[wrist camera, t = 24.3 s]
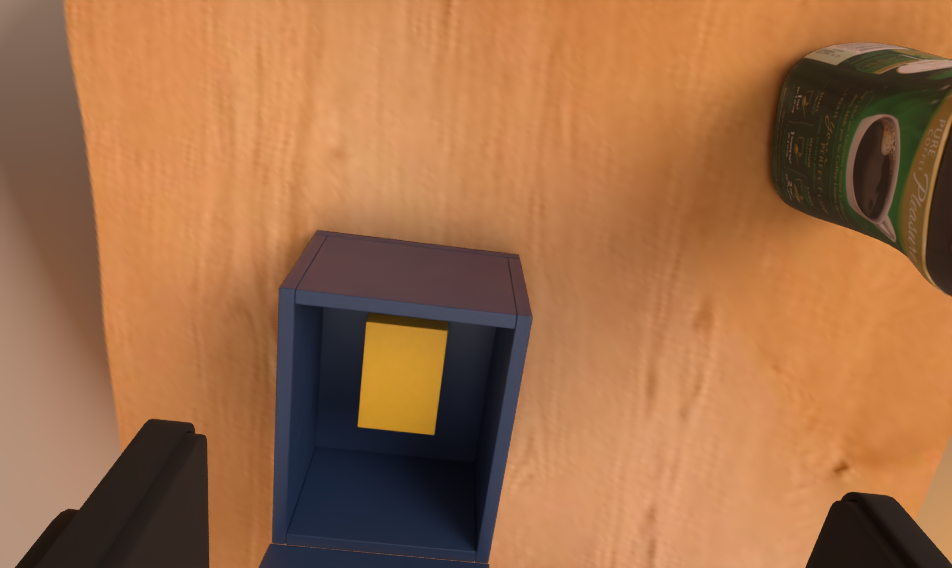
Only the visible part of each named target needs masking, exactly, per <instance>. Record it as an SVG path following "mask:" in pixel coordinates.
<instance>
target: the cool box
mask: <svg viewBox="0 0 952 568" xmlns="http://www.w3.org/2000/svg"><path fill="white" fill-rule="evenodd" d="M369 312H371V313H380V314H388V315H397V316H406V317H414V318H423V319H432V320H440V321H449V323H448V336H447V343H446V351H445V358H444V366H443V373H442V381H441V389H440V396H439V404H438V411H437V419H436V426H435V434H434V435H429V434H419V433H410V432H400V431H391V430H381V429H371V428H362V427H358V414H359V402H360V389H361V377H362V365H363V352H364V340H365V328H366V321H367V317H368V314H369ZM532 319H533V317H532V312H531V308H530V303H529V298H528V294H527V289H526V284H525V280H524V275H523V271H522V266H521V261H520V257H519V255H516V254H508V253H500V252H492V251H484V250H475V249H467V248H459V247H451V246H443V245H434V244H426V243H418V242H410V241H402V240H393V239H385V238H377V237H369V236H361V235H353V234H344V233H336V232H328V231H320V230H317V231H316V233H315V235H314V236H313V238H312V239H311V241H310V242H309V244H308V245H307V247H306V248H305V250H304V251H303V253H302V254H301V256H300V257H299V259H298V260H297V262H296V263H295V265H294V266H293V268H292V269H291V271H290V272H289V274H288V275H287V277H286V278H285V280H284V281H283V283H282V284H281V286H280V288H279V304H278V340H277V377H276V413H275V449H274V485H273V521H272V543H274V544H285V543H286V545H294V546H305V547H316V548H327V549H337V550H348V551H359V552H370V553H380V554H391V555H402V556H413V557H424V558H434V559H445V560H456V561H467V562H474V561H475V562H477V563H488V561H489V555H490V550H491V544H492V539H493V533H494V528H495V522H496V517H497V511H498V506H499V500H500V495H501V489H502V484H503V478H504V473H505V467H506V462H507V456H508V451H509V445H510V440H511V434H512V429H513V423H514V418H515V413H516V407H517V402H518V396H519V391H520V385H521V380H522V374H523V369H524V363H525V358H526V352H527V347H528V341H529V336H530V330H531V325H532Z"/></svg>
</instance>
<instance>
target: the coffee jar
mask: <svg viewBox="0 0 952 568" xmlns="http://www.w3.org/2000/svg"><path fill="white" fill-rule="evenodd" d="M772 177H773V183H774V187H775V189H776V191H777V193H778V195H779V196H780V198H781V199H782V200H783V201H784V202H785V203H786V204H788V205H789V206H791V207H793V208H795V209H797V210H799V211H801V212H803V213H806V214H808V215H810V216H813V217H816V218H819V219H822V220H825V221H828V222H831V223H834V224H837V225H840V226H843V227H846V228H849V229H852V230H855V231H858V232H860V233H863V234H865V235H868V236H870V237H873V238H875V239H878V240H880V241H882V242H884V243H886V244H889V245H890V246H892V247H894V248H896V249H897V250H899V251H900V252H902V253H903V254H904V255H906V256H907V257H908V258H909V259H910V261H911V262H912V263H913V264H914V266H915V267H916V268H917V269H918V271H919V272H920V273H921V274H922V275H923V277H924V278H925V279H926V280H927V281H928V282H929V283H931V284H932V285H933V286H934V287H936V288H937V289H938V290H940V291H941V292H943V293H944V294H946V295H949V296H951V297H952V60H951V59H947V58H943V57H940V56H936V55H933V54H929V53H925V52H922V51H918V50H914V49H910V48H906V47H901V46H895V45H889V44H879V43H846V44H839V45H833V46H829V47H824V48H821V49H818V50H815V51H813V52H811V53H809V54H807V55H806V56H804V57H803V58H802V59H800V60H799V61H798V62H797V63H796V64H795V65H794V67H793V68H792V69H791V70H790V72H789V73H788V75H787V77H786V79H785V81H784V83H783V86H782V89H781V94H780V98H779V102H778V107H777V111H776V117H775V123H774V133H773V142H772Z"/></svg>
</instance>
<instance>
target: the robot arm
mask: <svg viewBox="0 0 952 568" xmlns="http://www.w3.org/2000/svg"><path fill="white" fill-rule="evenodd" d="M15 568H209V525H208V465H207V439H206V436H205V435H202V434H195V428H194V425H193V424H192V423H188V422H178V421H168V420H159V419H150V420H148V421H147V422H146V423H145V424H144V425H143V427H142V428H141V429H140V431H139V432H138V433H137V435H136V436H135V437H134V439H133V440H132V441H131V442H130V444H129V445H128V446H127V448H126V449H125V450H124V452H123V453H122V454H121V456H120V457H119V458H118V460H117V461H116V462H115V463H114V465H113V466H112V468H111V469H110V470H109V472H108V473H107V474H106V475H105V477H104V478H103V479H102V481H101V482H100V483H99V484H98V486H97V487H96V488H95V490H94V491H93V492H92V494H91V495H90V497H89V498H88V499H87V501H86V502H85V503H84V505H83V506H82V507H81V508H80V510H75V509H67V510H65V511H63V512H61V513H60V514H59V515H58V516H57V517H56V518H55V519H54V520H53V521H52V522H51V523H50V524H49V526H48V527H47V528H46V530H45V531H44V532H43V533H42V534H41V536H40V537H39V539H37V541H36V542H35V543H34V544H33V546H32V547H31V548H30V550H29V551H28V552H27V553H26V555H25V556H24V557H23V558H22V560H21V561H20V562H19V563H18V565H17V566H16V567H15ZM805 568H952V564H951V563H950V562H949V560H948V559H947V558H946V557H945V556H944V555H943V554H942V552H941V551H940V550H939V549H938V548H937V547H936V545H935V544H934V543H933V542H932V541H931V540H930V539H929V537H928V536H927V535H926V534H925V533H924V532H923V530H922V529H921V528H920V527H919V526H918V525H917V524H916V522H915V521H914V520H913V519H912V518H911V517H910V515H909V514H908V513H907V512H906V511H905V510H904V508H903V507H902V506H901V505H900V504H899V503H898V502H897V501H896V500H895V499H894V498H893V497H890V496H887V495H878V494H868V493H858V492H850V493H847V494H846V495H844V496H843V498H842V499H841V500H840V501H836V502H834V503H833V504H832V506H831V508H830V510H829V512H828V515H827V517H826V520H825V522H824V524H823V527H822V529H821V532H820V534H819V536H818V539H817V541H816V544H815V546H814V548H813V551H812V553H811V556H810V558H809V560H808V563H807V565H806V567H805Z"/></svg>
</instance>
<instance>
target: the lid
mask: <svg viewBox="0 0 952 568" xmlns="http://www.w3.org/2000/svg"><path fill="white" fill-rule="evenodd" d="M259 568H489V564H483V563H472V562H462V561H451V560H440V559H429V558H419V557H408V556H397V555H386V554H375V553H365V552H354V551H343V550H332V549H322V548H311V547H300V546H289V545H279V544H270V545H269V547H268V549H267V551H266V553H265V555H264V557H263V560H262V562H261V564H260V566H259Z"/></svg>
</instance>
